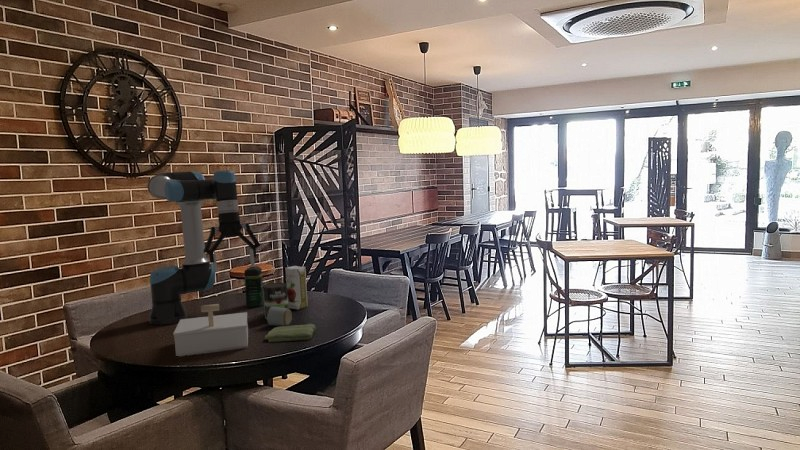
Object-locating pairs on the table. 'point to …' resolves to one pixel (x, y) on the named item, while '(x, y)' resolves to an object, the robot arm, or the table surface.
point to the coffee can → (275, 296)
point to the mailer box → (211, 341)
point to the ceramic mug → (279, 316)
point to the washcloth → (291, 333)
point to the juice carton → (296, 287)
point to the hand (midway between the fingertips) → (234, 268)
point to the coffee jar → (254, 286)
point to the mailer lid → (211, 322)
